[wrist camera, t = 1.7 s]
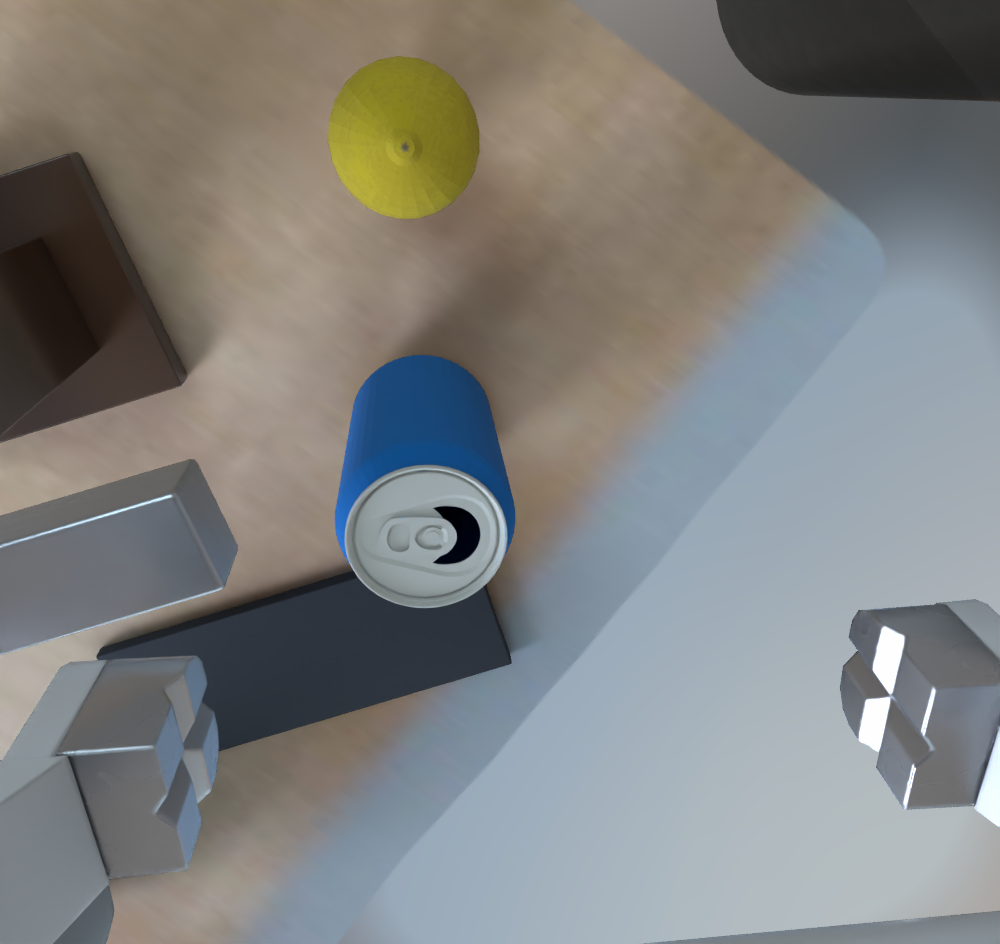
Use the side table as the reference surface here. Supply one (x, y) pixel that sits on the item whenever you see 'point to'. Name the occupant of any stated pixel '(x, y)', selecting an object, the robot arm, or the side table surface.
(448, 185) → the lemon
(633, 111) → the side table surface
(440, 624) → the dark grey flat slab
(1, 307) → the stand
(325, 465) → the side table surface
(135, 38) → the side table surface
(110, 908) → the cup
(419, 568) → the beverage can
